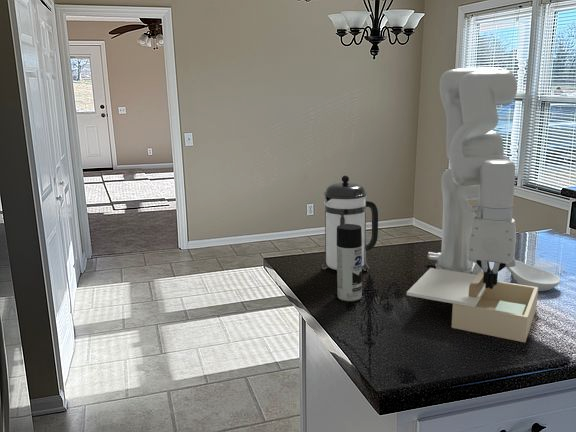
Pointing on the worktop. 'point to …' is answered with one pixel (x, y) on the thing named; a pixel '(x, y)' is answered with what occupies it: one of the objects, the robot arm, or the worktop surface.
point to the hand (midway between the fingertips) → (489, 286)
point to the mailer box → (499, 312)
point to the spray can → (349, 262)
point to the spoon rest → (530, 276)
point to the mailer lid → (449, 287)
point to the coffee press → (347, 217)
